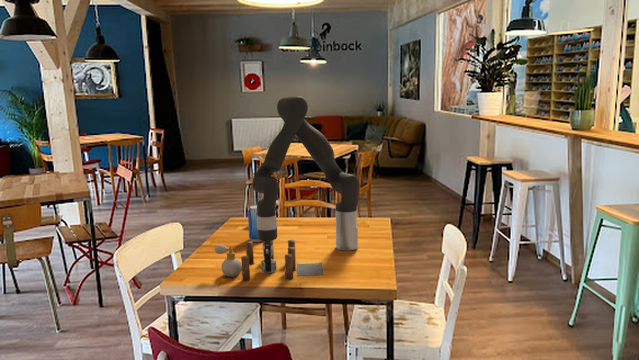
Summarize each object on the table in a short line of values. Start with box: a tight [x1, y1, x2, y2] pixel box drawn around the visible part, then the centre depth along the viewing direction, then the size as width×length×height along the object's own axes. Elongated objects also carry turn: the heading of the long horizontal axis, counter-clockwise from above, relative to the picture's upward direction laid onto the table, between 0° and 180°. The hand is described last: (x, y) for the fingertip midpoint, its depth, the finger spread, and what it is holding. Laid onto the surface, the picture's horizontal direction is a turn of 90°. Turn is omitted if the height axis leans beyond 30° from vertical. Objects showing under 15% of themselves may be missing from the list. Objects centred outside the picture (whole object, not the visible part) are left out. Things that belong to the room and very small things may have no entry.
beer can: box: [247, 204, 262, 243], centre depth 220 cm, size 8×8×16 cm
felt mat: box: [296, 262, 325, 277], centre depth 184 cm, size 10×12×1 cm
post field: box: [240, 239, 297, 282], centre depth 184 cm, size 20×23×9 cm
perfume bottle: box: [214, 244, 242, 278], centre depth 178 cm, size 8×10×12 cm
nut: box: [260, 258, 277, 274], centre depth 183 cm, size 6×5×4 cm
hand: (268, 268), depth 183 cm, fingers closed on nut, 5 cm apart
